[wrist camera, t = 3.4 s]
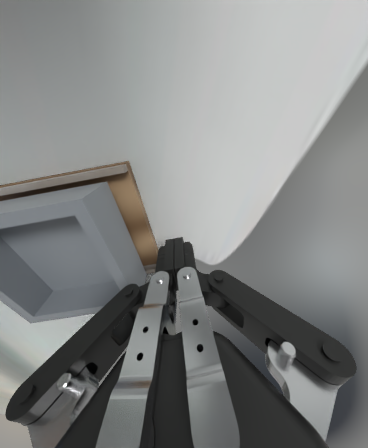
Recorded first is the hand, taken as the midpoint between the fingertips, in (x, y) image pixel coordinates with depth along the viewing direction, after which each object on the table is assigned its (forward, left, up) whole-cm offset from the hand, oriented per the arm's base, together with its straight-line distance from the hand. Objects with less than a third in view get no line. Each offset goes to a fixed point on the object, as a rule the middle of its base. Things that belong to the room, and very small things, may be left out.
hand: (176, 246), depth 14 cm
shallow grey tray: (0, -11, -5) cm, 12 cm away
